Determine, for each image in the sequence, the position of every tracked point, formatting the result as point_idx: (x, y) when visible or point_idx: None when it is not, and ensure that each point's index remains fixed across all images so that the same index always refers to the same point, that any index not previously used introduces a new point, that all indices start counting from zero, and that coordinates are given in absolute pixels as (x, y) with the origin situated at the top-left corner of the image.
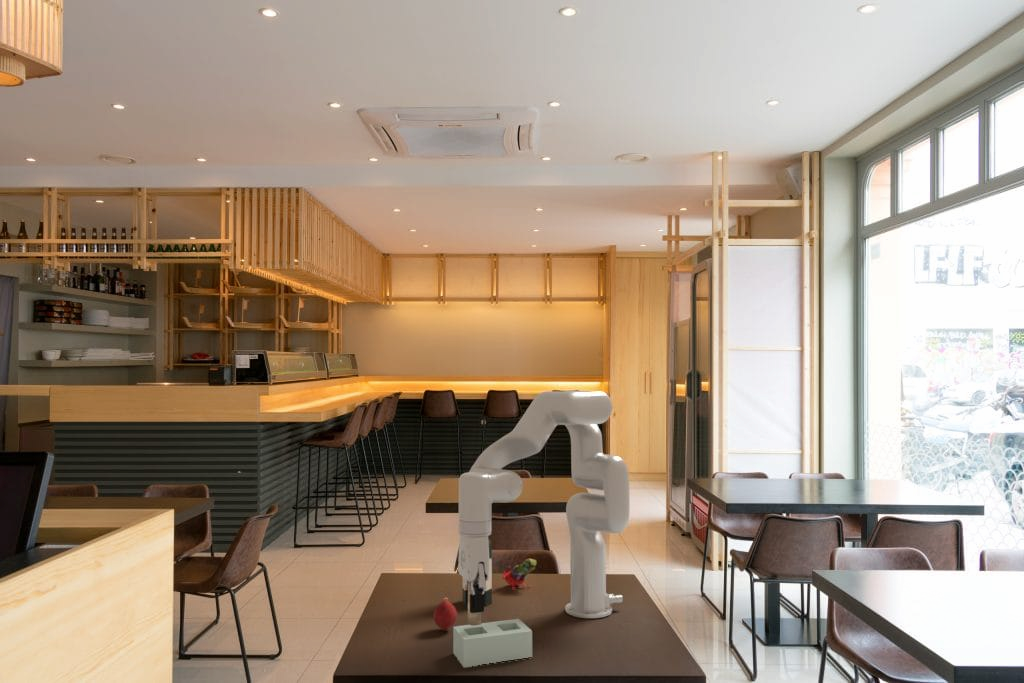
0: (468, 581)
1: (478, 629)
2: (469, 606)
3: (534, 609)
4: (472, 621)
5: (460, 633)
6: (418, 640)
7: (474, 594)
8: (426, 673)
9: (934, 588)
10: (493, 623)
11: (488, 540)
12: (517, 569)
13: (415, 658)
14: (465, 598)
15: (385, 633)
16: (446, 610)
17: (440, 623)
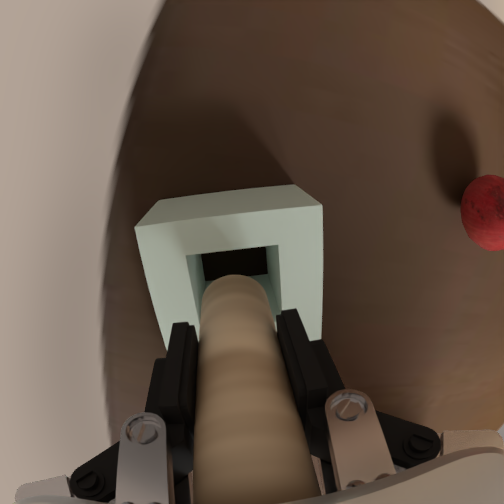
0: (39, 497)
1: (280, 302)
2: (216, 337)
3: (457, 391)
4: (203, 302)
5: (218, 223)
6: (427, 105)
7: (132, 428)
8: (142, 77)
9: None
10: None
11: None
12: None
13: (283, 55)
14: (303, 342)
15: (480, 47)
16: (493, 218)
17: (469, 187)
